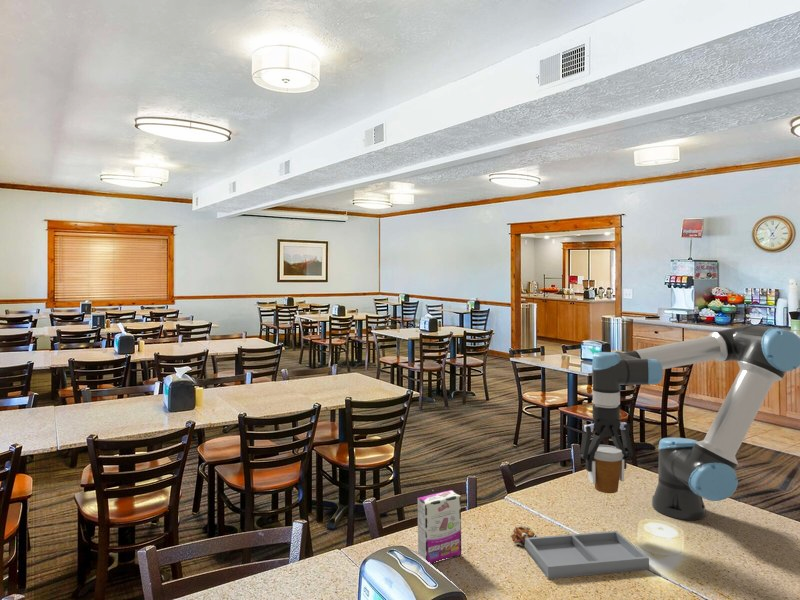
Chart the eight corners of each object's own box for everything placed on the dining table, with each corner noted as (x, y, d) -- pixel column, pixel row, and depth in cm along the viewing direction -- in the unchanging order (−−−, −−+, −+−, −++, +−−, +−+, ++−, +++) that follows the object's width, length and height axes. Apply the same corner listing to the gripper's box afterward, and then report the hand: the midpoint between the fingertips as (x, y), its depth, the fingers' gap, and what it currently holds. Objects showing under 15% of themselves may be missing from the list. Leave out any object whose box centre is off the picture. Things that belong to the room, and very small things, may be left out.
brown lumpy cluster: (528, 528, 154) (528, 517, 154) (541, 549, 142) (541, 536, 142) (505, 529, 153) (505, 517, 153) (516, 549, 142) (517, 537, 141)
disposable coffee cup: (627, 496, 146) (627, 455, 146) (592, 494, 148) (591, 453, 148) (619, 484, 155) (619, 445, 155) (586, 482, 157) (586, 443, 157)
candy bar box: (451, 547, 142) (451, 489, 142) (461, 555, 138) (462, 495, 137) (416, 557, 137) (416, 496, 136) (426, 566, 132) (426, 503, 132)
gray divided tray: (616, 541, 145) (616, 530, 145) (648, 569, 131) (649, 557, 131) (524, 548, 141) (524, 538, 141) (548, 578, 127) (548, 566, 127)
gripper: (631, 400, 156) (631, 473, 157) (566, 403, 153) (566, 478, 154) (647, 406, 149) (646, 483, 149) (578, 409, 146) (579, 488, 146)
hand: (606, 480), depth 152 cm, fingers closed on disposable coffee cup, 8 cm apart
